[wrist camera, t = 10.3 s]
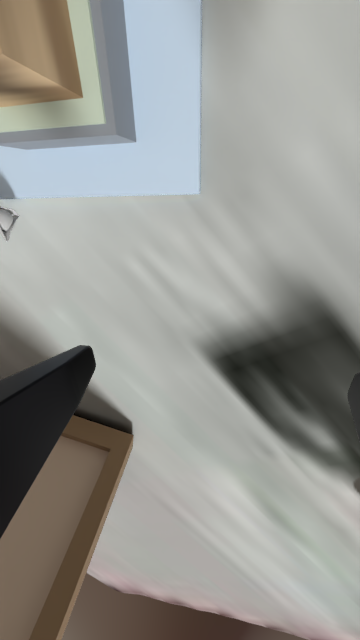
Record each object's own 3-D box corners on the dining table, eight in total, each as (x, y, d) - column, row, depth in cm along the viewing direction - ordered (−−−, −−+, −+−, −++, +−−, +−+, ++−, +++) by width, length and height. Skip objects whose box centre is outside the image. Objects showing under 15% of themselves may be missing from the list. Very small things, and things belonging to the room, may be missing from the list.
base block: (117, -63, 12) (81, -136, 9) (136, 142, 16) (115, 134, 13) (-22, -30, 13) (-89, -84, 11) (27, 149, 17) (-13, 143, 14)
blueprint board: (203, -190, 10) (202, -210, 10) (200, 193, 17) (199, 194, 16) (-98, -95, 13) (-111, -106, 13) (1, 198, 20) (-5, 199, 19)
